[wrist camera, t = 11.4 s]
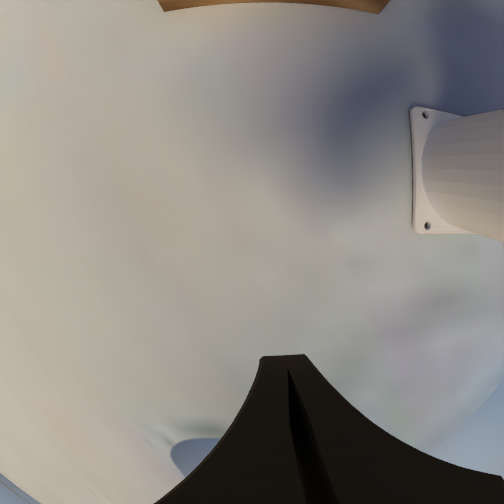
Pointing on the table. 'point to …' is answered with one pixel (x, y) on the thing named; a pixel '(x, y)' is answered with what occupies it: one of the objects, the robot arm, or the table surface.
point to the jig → (373, 3)
